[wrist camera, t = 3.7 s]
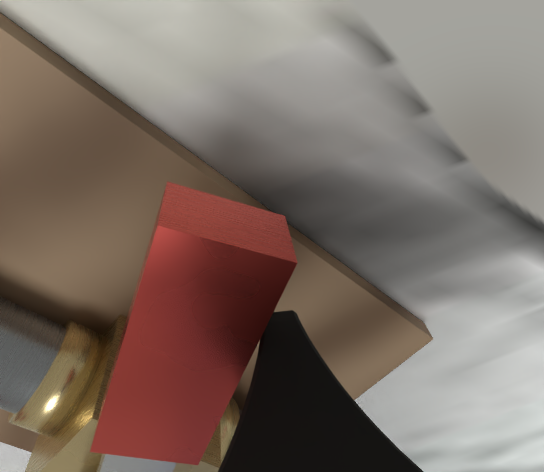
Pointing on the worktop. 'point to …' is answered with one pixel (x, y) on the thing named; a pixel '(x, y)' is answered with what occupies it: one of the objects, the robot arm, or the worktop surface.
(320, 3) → the worktop surface
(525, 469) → the worktop surface
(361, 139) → the worktop surface
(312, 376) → the robot arm
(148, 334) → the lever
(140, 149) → the mounting board
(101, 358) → the valve pipe
